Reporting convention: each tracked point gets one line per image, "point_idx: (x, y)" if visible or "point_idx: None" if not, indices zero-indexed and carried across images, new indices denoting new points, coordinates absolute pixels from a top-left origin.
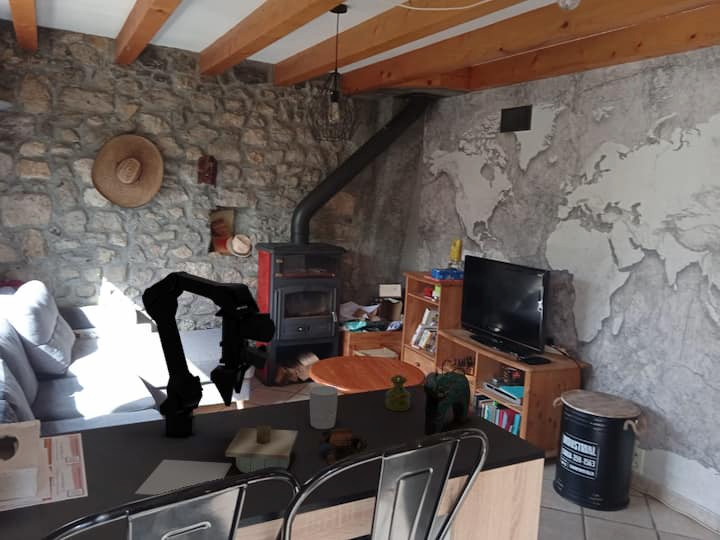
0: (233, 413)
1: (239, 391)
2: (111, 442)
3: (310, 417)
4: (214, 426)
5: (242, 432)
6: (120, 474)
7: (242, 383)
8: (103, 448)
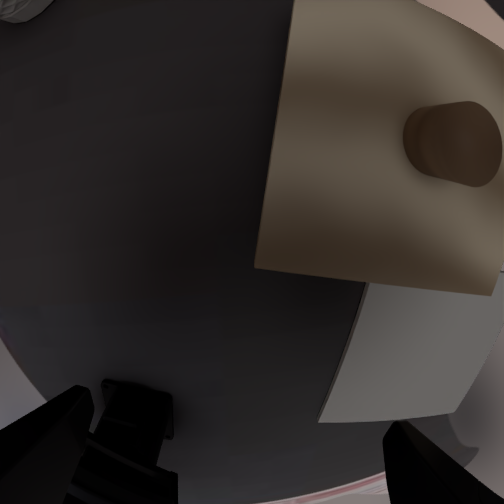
0: None
1: (82, 401)
2: (206, 488)
3: (13, 16)
4: (62, 331)
5: (321, 253)
6: (359, 455)
7: (26, 428)
8: (236, 492)
